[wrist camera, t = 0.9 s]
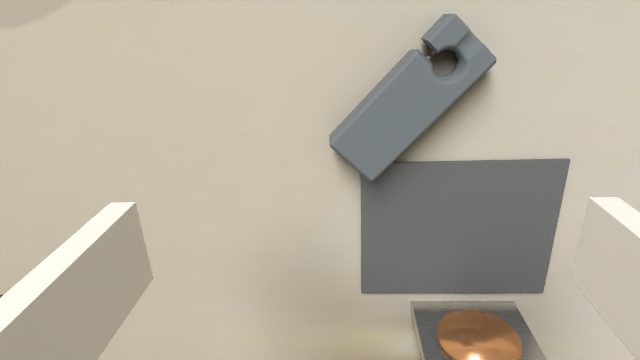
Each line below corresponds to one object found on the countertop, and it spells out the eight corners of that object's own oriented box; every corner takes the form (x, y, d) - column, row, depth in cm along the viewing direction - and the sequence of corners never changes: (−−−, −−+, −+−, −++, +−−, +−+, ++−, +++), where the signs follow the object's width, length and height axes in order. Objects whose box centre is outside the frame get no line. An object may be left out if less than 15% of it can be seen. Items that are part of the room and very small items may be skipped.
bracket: (327, 136, 28) (327, 145, 26) (444, 10, 25) (454, 11, 23) (369, 173, 29) (372, 184, 27) (487, 56, 26) (500, 60, 24)
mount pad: (361, 291, 33) (361, 293, 33) (361, 163, 29) (361, 163, 29) (541, 291, 33) (543, 292, 32) (568, 158, 28) (570, 159, 28)
